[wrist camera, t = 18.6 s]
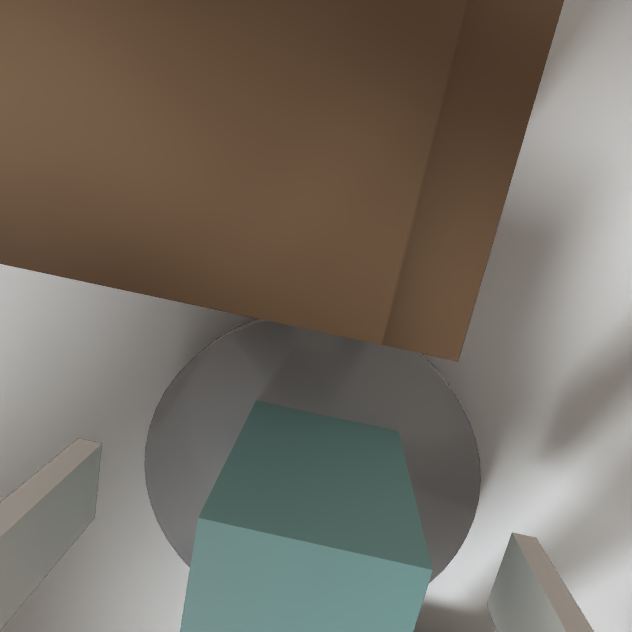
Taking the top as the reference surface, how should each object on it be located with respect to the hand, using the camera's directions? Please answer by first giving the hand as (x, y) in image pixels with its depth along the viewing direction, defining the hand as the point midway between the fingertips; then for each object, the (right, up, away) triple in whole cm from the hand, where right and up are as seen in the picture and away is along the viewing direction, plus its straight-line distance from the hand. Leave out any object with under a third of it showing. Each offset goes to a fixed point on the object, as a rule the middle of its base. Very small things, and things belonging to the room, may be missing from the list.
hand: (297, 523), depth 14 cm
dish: (0, +1, +3) cm, 3 cm away
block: (+1, +1, +2) cm, 2 cm away
